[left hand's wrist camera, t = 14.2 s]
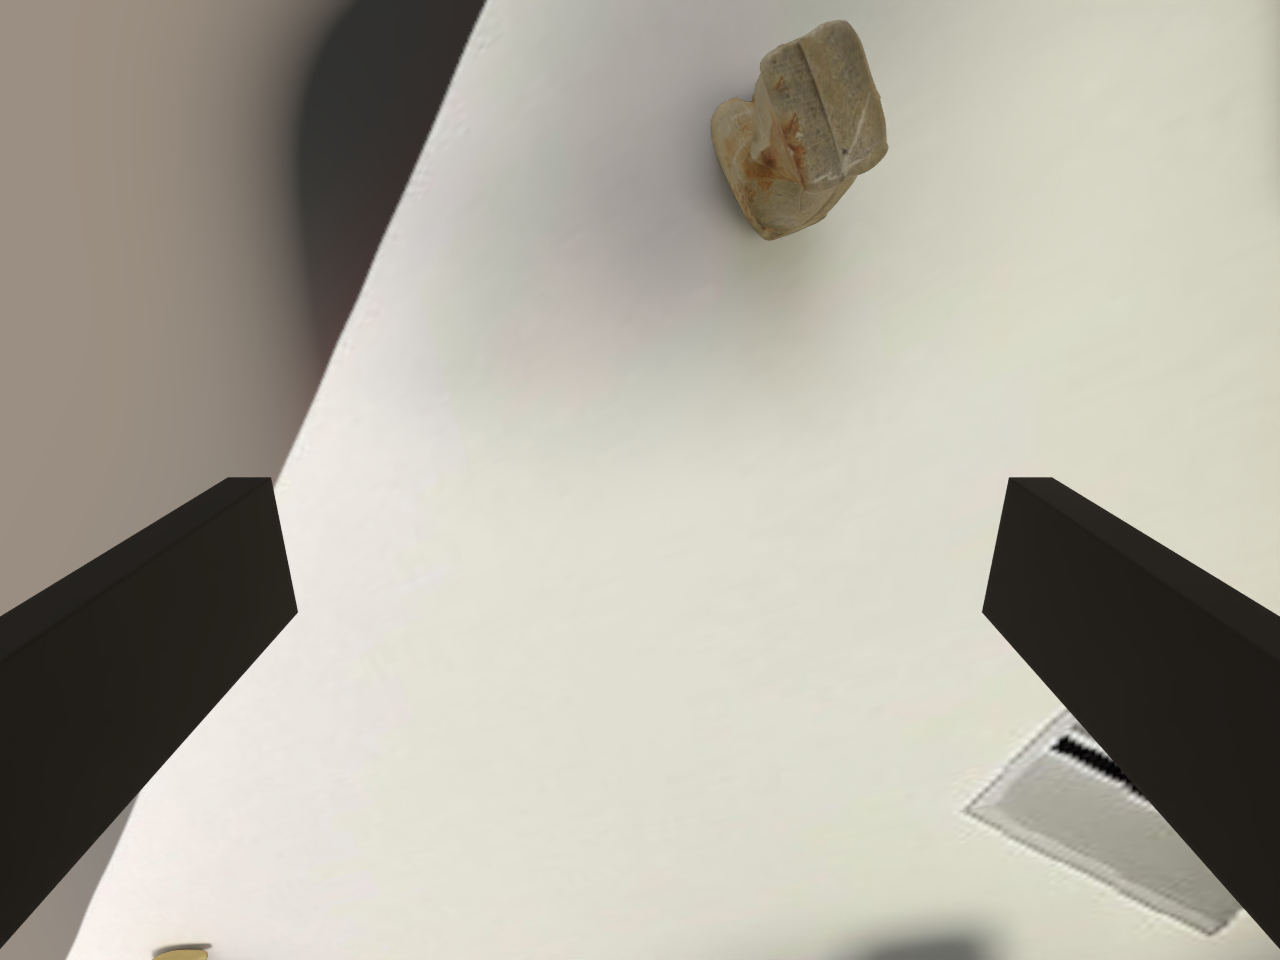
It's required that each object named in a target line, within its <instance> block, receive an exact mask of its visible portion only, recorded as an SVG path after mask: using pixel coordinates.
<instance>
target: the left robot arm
mask: <svg viewBox="0 0 1280 960" xmlns="http://www.w3.org/2000/svg"><path fill="white" fill-rule="evenodd" d="M297 613H298V610H297V605H296V600H295V595H294V590H293V585H292V580H291V575H290V570H289V565H288V560H287V555H286V550H285V545H284V540H283V535H282V530H281V525H280V520H279V515H278V510H277V505H276V500H275V495H274V490H273V485H272V480H271V477H228V478H226V479H225V480H223V481H221V482H220V483H218V484H216V485H215V486H213V487H211V488H210V489H208V490H207V491H205V492H203V493H202V494H200V495H198V496H197V497H195V498H193V499H192V500H190V501H189V502H187V503H185V504H184V505H182V506H180V507H179V508H177V509H175V510H174V511H172V512H171V513H169V514H167V515H166V516H164V517H162V518H161V519H159V520H157V521H156V522H154V523H153V524H151V525H149V526H148V527H146V528H144V529H143V530H141V531H139V532H138V533H136V534H135V535H133V536H131V537H130V538H128V539H126V540H125V541H123V542H121V543H120V544H118V545H117V546H115V547H113V548H112V549H110V550H108V551H107V552H105V553H103V554H102V555H100V556H99V557H97V558H95V559H94V560H92V561H90V562H89V563H87V564H85V565H84V566H82V567H81V568H79V569H77V570H76V571H74V572H72V573H71V574H69V575H67V576H66V577H64V578H62V579H61V580H59V581H58V582H56V583H54V584H53V585H51V586H49V587H48V588H46V589H45V590H43V591H41V592H40V593H38V594H36V595H35V596H33V597H31V598H30V599H28V600H27V601H25V602H23V603H22V604H20V605H18V606H17V607H15V608H13V609H12V610H10V611H8V612H7V613H5V614H4V615H2V616H0V948H1V947H2V946H3V945H4V944H5V943H6V942H7V941H8V940H9V938H10V937H11V936H12V935H13V934H14V933H15V932H16V930H17V929H18V928H19V927H20V926H21V925H22V924H23V923H24V921H25V920H26V919H27V918H28V917H29V916H30V915H31V914H32V912H33V911H34V910H35V909H36V908H37V907H38V906H39V905H40V903H41V902H42V901H43V900H44V899H45V898H46V897H47V895H48V894H49V893H50V892H51V891H52V890H53V889H54V888H55V886H56V885H57V884H58V883H59V882H60V881H61V880H62V878H63V877H64V876H65V875H66V874H67V873H68V872H69V871H70V869H71V868H72V867H73V866H74V865H75V864H76V863H77V862H78V860H79V859H80V858H81V857H82V856H83V855H84V854H85V852H86V851H87V850H88V849H89V848H90V847H91V846H92V845H93V843H94V842H95V841H96V840H97V839H98V838H99V837H100V836H101V834H102V833H103V832H104V831H105V830H106V829H107V828H108V826H109V825H110V824H111V823H112V822H113V821H114V820H115V819H116V817H117V816H118V815H119V814H120V813H121V812H122V811H123V809H124V808H125V807H126V806H127V805H128V804H129V803H130V802H131V800H132V799H133V798H134V797H135V796H136V795H137V794H138V793H139V791H140V790H141V789H142V788H143V787H144V786H145V785H146V784H147V782H148V781H149V780H150V779H151V778H152V777H153V776H154V775H155V773H156V772H157V771H158V770H159V769H160V768H161V767H162V765H163V764H164V763H165V762H166V761H167V760H168V759H169V758H170V756H171V755H172V754H173V753H174V752H175V751H176V750H177V749H178V747H179V746H180V745H181V744H182V743H183V742H184V741H185V739H186V738H187V737H188V736H189V735H190V734H191V733H192V732H193V730H194V729H195V728H196V727H197V726H198V725H199V724H200V723H201V721H202V720H203V719H204V718H205V717H206V716H207V715H208V713H209V712H210V711H211V710H212V709H213V708H214V707H215V706H216V704H217V703H218V702H219V701H220V700H221V699H222V698H223V697H224V695H225V694H226V693H227V692H228V691H229V690H230V689H231V687H232V686H233V685H234V684H235V683H236V682H237V681H238V680H239V678H240V677H241V676H242V675H243V674H244V673H245V672H246V671H247V669H248V668H249V667H250V666H251V665H252V664H253V663H254V661H255V660H256V659H257V658H258V657H259V656H260V655H261V654H262V652H263V651H264V650H265V649H266V648H267V647H268V646H269V645H270V643H271V642H272V641H273V640H274V639H275V638H276V637H277V635H278V634H279V633H280V632H281V631H282V630H283V629H284V628H285V626H286V625H287V624H288V623H289V622H290V621H291V620H292V619H293V617H294V616H295V615H296V614H297ZM982 613H983V614H984V615H985V616H986V617H987V619H988V620H989V621H990V622H991V623H992V624H993V625H994V626H995V628H996V629H997V630H998V631H999V632H1000V633H1001V634H1002V635H1003V637H1004V638H1005V639H1006V640H1007V641H1008V642H1009V643H1010V645H1011V646H1012V647H1013V648H1014V649H1015V650H1016V651H1017V652H1018V654H1019V655H1020V656H1021V657H1022V658H1023V659H1024V660H1025V661H1026V663H1027V664H1028V665H1029V666H1030V667H1031V668H1032V669H1033V671H1034V672H1035V673H1036V674H1037V675H1038V676H1039V677H1040V678H1041V680H1042V681H1043V682H1044V683H1045V684H1046V685H1047V686H1048V687H1049V689H1050V690H1051V691H1052V692H1053V693H1054V694H1055V695H1056V697H1057V698H1058V699H1059V700H1060V701H1061V702H1062V703H1063V704H1064V706H1065V707H1066V708H1067V709H1068V710H1069V711H1070V712H1071V713H1072V715H1073V716H1074V717H1075V718H1076V719H1077V720H1078V721H1079V723H1080V724H1081V725H1082V726H1083V727H1084V728H1085V729H1086V730H1087V732H1088V733H1089V734H1090V735H1091V736H1092V737H1093V738H1094V739H1095V741H1096V742H1097V743H1098V744H1099V745H1100V746H1101V747H1102V749H1103V750H1104V751H1105V752H1106V753H1107V754H1108V755H1109V756H1110V758H1111V759H1112V760H1113V761H1114V762H1115V763H1116V764H1117V765H1118V767H1119V768H1120V769H1121V770H1122V771H1123V772H1124V773H1125V775H1126V776H1127V777H1128V778H1129V779H1130V780H1131V781H1132V782H1133V784H1134V785H1135V786H1136V787H1137V788H1138V789H1139V790H1140V791H1141V793H1142V794H1143V795H1144V796H1145V797H1146V798H1147V799H1148V801H1149V802H1150V803H1151V804H1152V805H1153V806H1154V807H1155V808H1156V810H1157V811H1158V812H1159V813H1160V814H1161V815H1162V816H1163V817H1164V819H1165V820H1166V821H1167V822H1168V823H1169V824H1170V825H1171V827H1172V828H1173V829H1174V830H1175V831H1176V832H1177V833H1178V834H1179V836H1180V837H1181V838H1182V839H1183V840H1184V841H1185V842H1186V843H1187V845H1188V846H1189V847H1190V848H1191V849H1192V850H1193V851H1194V853H1195V854H1196V855H1197V856H1198V857H1199V858H1200V859H1201V860H1202V862H1203V863H1204V864H1205V865H1206V866H1207V867H1208V868H1209V869H1210V871H1211V872H1212V873H1213V874H1214V875H1215V876H1216V877H1217V879H1218V880H1219V881H1220V882H1221V883H1222V884H1223V885H1224V886H1225V888H1226V889H1227V890H1228V891H1229V892H1230V893H1231V894H1232V895H1233V897H1234V898H1235V899H1236V900H1237V901H1238V902H1239V903H1240V905H1241V906H1242V907H1243V908H1244V909H1245V910H1246V911H1247V912H1248V914H1249V915H1250V916H1251V917H1252V918H1253V919H1254V920H1255V921H1256V923H1257V924H1258V925H1259V926H1260V927H1261V928H1262V929H1263V931H1264V932H1265V933H1266V934H1267V935H1268V936H1269V937H1270V938H1271V940H1272V941H1273V942H1274V943H1275V944H1276V945H1277V946H1278V947H1279V949H1280V616H1278V615H1276V614H1275V613H1273V612H1272V611H1270V610H1268V609H1267V608H1265V607H1263V606H1262V605H1260V604H1258V603H1257V602H1255V601H1254V600H1252V599H1250V598H1249V597H1247V596H1245V595H1244V594H1242V593H1240V592H1239V591H1237V590H1236V589H1234V588H1232V587H1231V586H1229V585H1227V584H1226V583H1224V582H1222V581H1221V580H1219V579H1218V578H1216V577H1214V576H1213V575H1211V574H1209V573H1208V572H1206V571H1204V570H1203V569H1201V568H1199V567H1198V566H1196V565H1195V564H1193V563H1191V562H1190V561H1188V560H1186V559H1185V558H1183V557H1181V556H1180V555H1178V554H1177V553H1175V552H1173V551H1172V550H1170V549H1168V548H1167V547H1165V546H1163V545H1162V544H1160V543H1159V542H1157V541H1155V540H1154V539H1152V538H1150V537H1149V536H1147V535H1145V534H1144V533H1142V532H1141V531H1139V530H1137V529H1136V528H1134V527H1132V526H1131V525H1129V524H1127V523H1126V522H1124V521H1123V520H1121V519H1119V518H1118V517H1116V516H1114V515H1113V514H1111V513H1109V512H1108V511H1106V510H1105V509H1103V508H1101V507H1100V506H1098V505H1096V504H1095V503H1093V502H1091V501H1090V500H1088V499H1087V498H1085V497H1083V496H1082V495H1080V494H1078V493H1077V492H1075V491H1073V490H1072V489H1070V488H1069V487H1067V486H1065V485H1064V484H1062V483H1060V482H1059V481H1057V480H1055V479H1054V478H1052V477H1009V480H1008V485H1007V490H1006V495H1005V500H1004V505H1003V510H1002V515H1001V520H1000V525H999V530H998V535H997V540H996V545H995V550H994V555H993V560H992V565H991V570H990V575H989V580H988V585H987V590H986V595H985V600H984V605H983V610H982Z"/></svg>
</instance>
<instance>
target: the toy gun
mask: <svg viewBox="0 0 1280 960" xmlns="http://www.w3.org/2000/svg"><path fill="white" fill-rule="evenodd" d="M207 957H208V953H207V952H206V951H204V950H175V951H170V952H166V953H163V954H160V955H158V956H157V957H155V958H154V959H153V960H206V959H207Z"/></svg>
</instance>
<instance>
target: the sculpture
mask: <svg viewBox="0 0 1280 960" xmlns="http://www.w3.org/2000/svg"><path fill="white" fill-rule="evenodd" d="M760 70H761V74H760V76H759V78H758V80H757V83H756V86H755V93H754V94H753V98H752V101H751V102H745V101H743V100H741V99H739V98H733V99H731V100H729V101H726V102H724V103H722V104H721V105H720V106H719V107H718V108H717V110H716V111H715V113H714V115H713V117H712V121H711V134H712V140H713V144H714V148H715V151H716V154H717V157H718V160H719V163H720V166H721V168H722V170H723V172H724V175H725V177H726V179H727V181H728V183H729V185H730V187H731V189H732V191H733V193H734V195H735V198H736V200H737V201H738V203H739V205H740V207H741V209H742V211H743V213H744V215H745V217H746V218H747V220H748V222H749V223H750V224H751V226H752V227H753V228H754V229H755V230H756V231H757V233H758V234H759V235H760V236H761V237H762V238H764V239H765V240H774V239H777V238H780V237H783V236H786V235H789V234H792V233H795V232H797V231H799V230H801V229H804V228H806V227H808V226H811V225H813V224H815V223H817V222H819V221H821V220H822V219H824V218H825V217H826V215H827V212H828V211H830V209H831V208H832V207H833V206H834V205H835V204H836V203H837V202H838V201H839V199H840V198H841V197H842V196H843V195H844V193H845V192H846V191H847V190H848V189H849V187H850V186H851V185H852V183H853V182H854V180H855V179H856V177H857V175H859V174H862V173H865V172H866V171H868V170H870V169H871V168H873V167H874V166H876V165H877V164H878V163H879V162H880V161H881V159H882V158H883V157H884V156H885V154H886V153H887V151H888V145H887V139H886V124H885V118H884V114H883V109H882V106H881V102H880V95H879V93H878V91H877V90H876V87H875V84H874V81H873V78H872V76H871V72H870V69H869V66H868V62H867V59H866V56H865V52H864V49H863V46H862V44H861V41H860V39H859V37H858V35H857V33H856V32H855V31H854V29H853V28H852V26H851V25H850V24H849V23H848V22H847V21H845V20H836V21H830V22H826V23H824V24H821V25H819V26H818V27H817V28H815V29H814V30H813V31H811V32H810V33H808V34H807V35H805V36H803V37H801V38H799V39H796V40H794V41H792V42H789V43H787V44H782V45H780V46H778V47H777V48H776V49H774V50H773V51H771V52H770V53H768V54H767V55H766V56H765V57H764V58H763V59H762V61H761V63H760Z"/></svg>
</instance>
